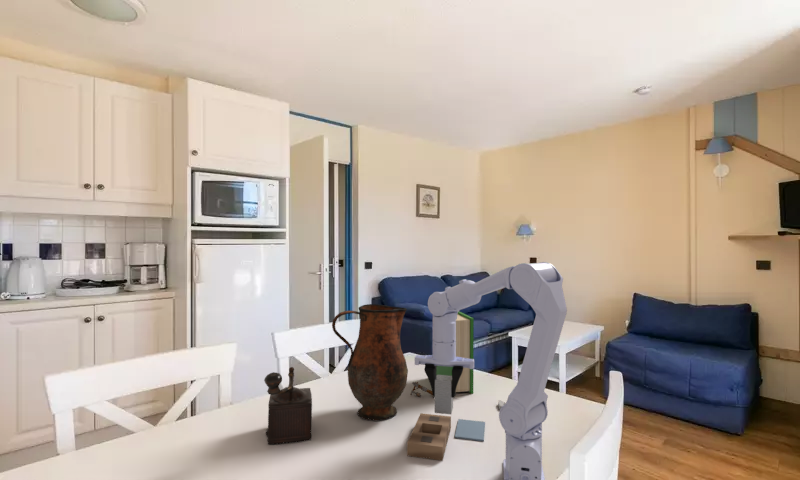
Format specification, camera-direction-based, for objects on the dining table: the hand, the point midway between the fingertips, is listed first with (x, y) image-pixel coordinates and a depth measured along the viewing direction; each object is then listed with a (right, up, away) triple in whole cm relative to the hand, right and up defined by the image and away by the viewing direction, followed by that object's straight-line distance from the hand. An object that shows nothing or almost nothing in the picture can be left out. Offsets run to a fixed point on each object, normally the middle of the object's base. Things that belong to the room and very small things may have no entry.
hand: (444, 395), depth 99 cm
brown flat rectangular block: (-3, -10, -2) cm, 11 cm away
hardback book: (+7, -11, +37) cm, 39 cm away
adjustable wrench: (+21, -11, +10) cm, 25 cm away
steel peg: (0, -4, 0) cm, 4 cm away
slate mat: (+7, -10, +4) cm, 13 cm away
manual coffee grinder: (-38, -10, 0) cm, 40 cm away
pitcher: (-19, -11, +13) cm, 26 cm away
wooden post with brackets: (-3, -11, +26) cm, 28 cm away
